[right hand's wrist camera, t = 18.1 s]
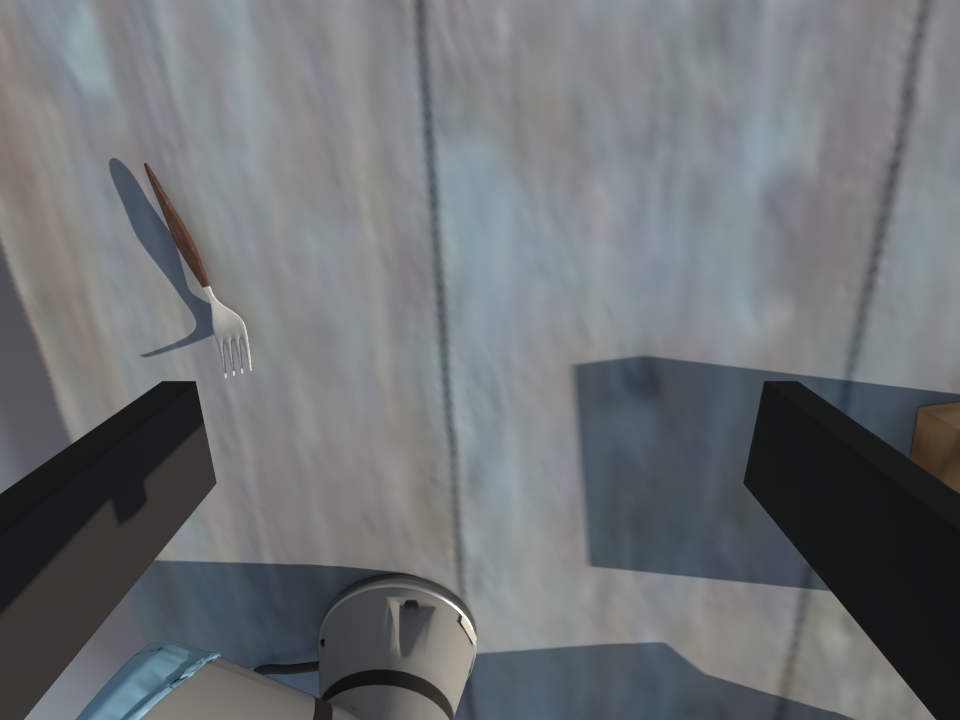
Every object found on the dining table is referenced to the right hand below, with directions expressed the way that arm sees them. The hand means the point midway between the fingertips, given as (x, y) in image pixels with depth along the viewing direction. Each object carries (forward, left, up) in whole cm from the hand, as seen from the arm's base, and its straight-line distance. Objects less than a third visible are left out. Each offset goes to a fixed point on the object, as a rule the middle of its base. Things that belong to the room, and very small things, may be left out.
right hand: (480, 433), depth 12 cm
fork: (-19, +9, -29) cm, 36 cm away
